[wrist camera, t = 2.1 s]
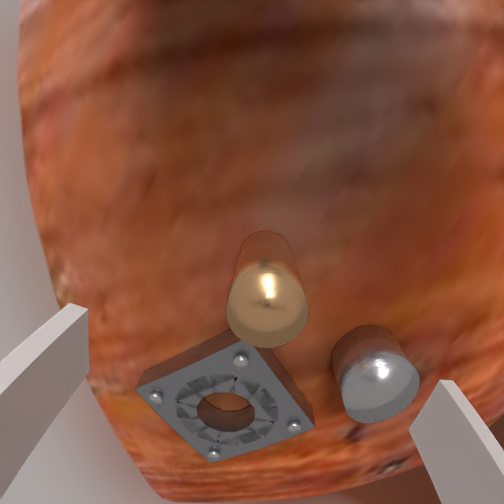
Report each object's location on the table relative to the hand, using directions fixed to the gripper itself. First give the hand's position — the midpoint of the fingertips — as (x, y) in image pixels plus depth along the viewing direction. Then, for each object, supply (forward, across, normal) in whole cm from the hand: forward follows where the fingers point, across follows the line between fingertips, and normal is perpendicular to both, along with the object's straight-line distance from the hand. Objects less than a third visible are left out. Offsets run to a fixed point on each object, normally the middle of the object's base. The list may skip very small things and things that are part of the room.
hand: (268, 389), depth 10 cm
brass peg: (+16, 0, 0) cm, 16 cm away
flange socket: (+16, 0, -14) cm, 21 cm away
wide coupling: (+16, +11, -7) cm, 21 cm away
